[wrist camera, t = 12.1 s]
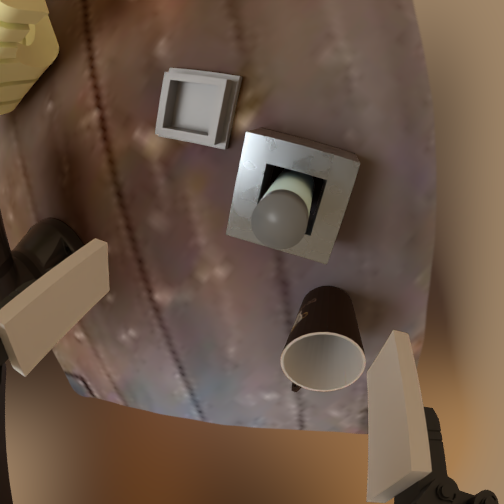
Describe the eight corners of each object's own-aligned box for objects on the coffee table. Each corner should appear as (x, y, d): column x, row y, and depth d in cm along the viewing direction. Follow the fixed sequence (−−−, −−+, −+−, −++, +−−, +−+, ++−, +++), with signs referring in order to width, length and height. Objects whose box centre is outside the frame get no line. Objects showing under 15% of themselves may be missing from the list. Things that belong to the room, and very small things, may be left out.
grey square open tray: (162, 135, 34) (149, 138, 31) (173, 68, 30) (160, 66, 27) (227, 148, 33) (218, 152, 30) (242, 77, 29) (234, 74, 27)
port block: (241, 214, 36) (225, 234, 31) (260, 127, 31) (246, 131, 26) (327, 239, 35) (326, 264, 30) (354, 153, 30) (360, 162, 25)
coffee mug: (334, 264, 36) (333, 317, 27) (374, 312, 37) (381, 369, 29) (262, 312, 41) (242, 366, 32) (303, 353, 43) (293, 408, 34)
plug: (281, 161, 32) (257, 189, 22) (318, 171, 32) (313, 205, 21) (273, 196, 34) (246, 240, 24) (308, 206, 34) (298, 256, 23)
